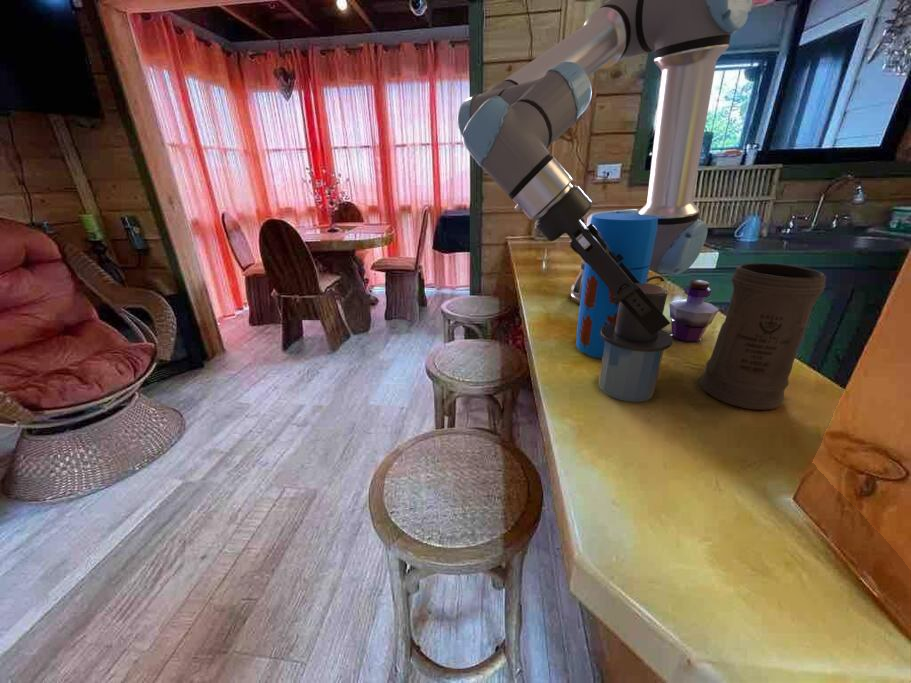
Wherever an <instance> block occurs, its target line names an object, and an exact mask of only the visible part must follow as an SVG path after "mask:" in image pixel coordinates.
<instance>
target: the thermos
mask: <svg viewBox="0 0 911 683" xmlns="http://www.w3.org/2000/svg"><path fill="white" fill-rule="evenodd" d="M591 223H592V224H593V225H594V226H595V227H596V229H597V230H598V231H599V233H600V234H601V237H602V238H603V239H604V240H605V243H606V244H607V245H608V247H609V248H610V250H611V252H614V254H615V256H617V255H618V254H619V253H620V254H621V256H622V257H623V258H624V259H623V260H621V261H620V262H619V263H618V264H620V263H621V262H622V263H623V264H624V265H625V267H626V268H627V269H628V270H629V271H630V272H631V273H632V275H633V276H634V277H635V278H636V279H637V280H638V281H639V282H640V283H644V284H646V283H647V284H648V282H647V279H648V278H649V272H650V270H649V268H650V263H651V258H652V252H653V247H654V242H655V237H656V232H657V225H658V217H656V216H652V215H644V214H623V213H614V214H598V215H593V216H592V219H591ZM619 290H620V288H619V289H618V291H619ZM614 298H615V296H614V294H613V293H612V292H611V291H610V289H609V288H608V287H607V286H606V285H605V283H604V282H603V281H602V280H601V278H600V277H599V276H598V275H597V274H596V272H595V271H594V270H593V269H592V268H591V266H590V265H588V264H587V263H586V262H585V268H584V276H583V284H582V292H581V300H580V304H579V308H578V317H577V324H576V325H577V326H576V342H575V345H576V349H577V350H579V352H581V353H582V354H585V355H587V356H589V357H593V358H596V359H601V360H602V356H603V349H604V343H605V340H604V339H603V338H602V337H601V335H600V332H601V328H602V327H603V326H605V325H607V324H610V323H616V319H617V313H618V307H619V303H618V304H617V305H616V304H615V303H614V302H613V301H612V299H614Z"/></svg>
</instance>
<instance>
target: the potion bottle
mask: <svg viewBox="0 0 911 683" xmlns="http://www.w3.org/2000/svg"><path fill="white" fill-rule="evenodd" d="M710 284H711V283H710V282H709V281H705V280H702V279H692V280H690V281H689V285H686V286H685V288H684V292H683V293H684V294H685V295H687V298H686V299H676V300H673V301H671V302H669V318H671V320H670V325H671V326H670V327H671V334H670V335H671V337H672V339H674V340H677V341H681V342H684V343H698V342H700V341H702V337H703V335H704V333H705V332H706V330H707V328H708V327H709V325H711V324H712V322H713V321H714V319H715V318H716V316H717V314H718V312H719V311H720V309H719V307H717V306H715V305H714V304H712V303H710V302H705V299H706V298H709V297H710V296H711V294H712V288H711V287H710Z"/></svg>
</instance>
